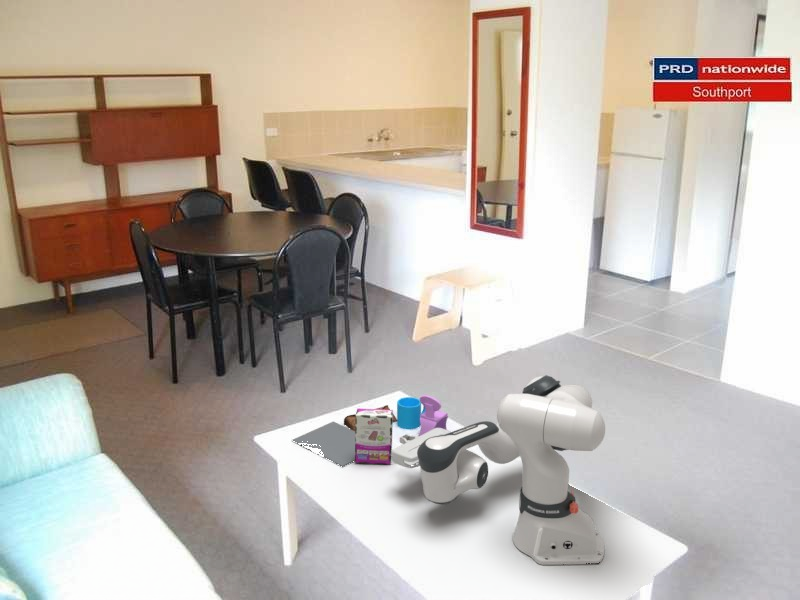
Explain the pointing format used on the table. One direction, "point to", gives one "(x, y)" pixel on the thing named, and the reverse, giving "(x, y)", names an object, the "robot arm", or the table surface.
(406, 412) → the mug
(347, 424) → the sunglasses case
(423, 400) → the toy chair
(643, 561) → the table surface
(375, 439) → the candy bar box
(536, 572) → the table surface
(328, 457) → the mat
